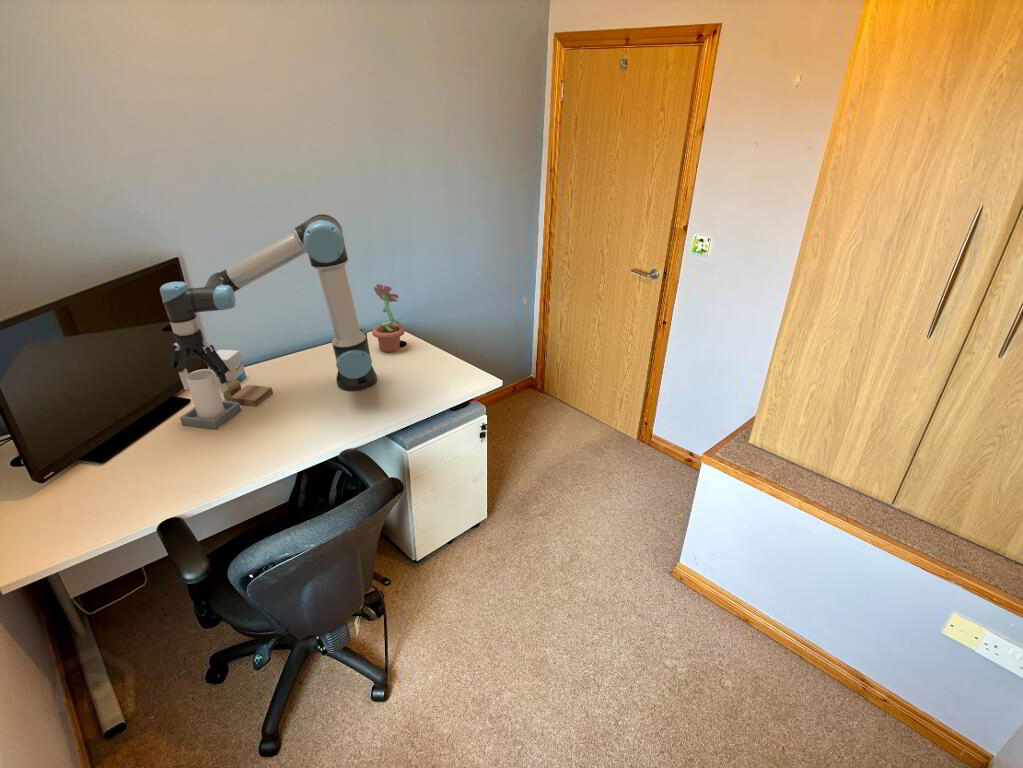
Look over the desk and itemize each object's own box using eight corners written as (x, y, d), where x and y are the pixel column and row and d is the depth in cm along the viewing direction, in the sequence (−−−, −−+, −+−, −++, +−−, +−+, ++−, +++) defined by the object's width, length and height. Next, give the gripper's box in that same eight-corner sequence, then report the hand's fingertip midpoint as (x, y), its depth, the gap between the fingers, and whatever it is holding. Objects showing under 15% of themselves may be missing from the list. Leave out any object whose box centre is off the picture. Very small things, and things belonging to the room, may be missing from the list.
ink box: (246, 376, 213) (240, 350, 207) (235, 387, 206) (227, 359, 200) (226, 375, 214) (219, 348, 208) (213, 385, 206) (206, 358, 201)
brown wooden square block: (273, 394, 202) (271, 387, 200) (256, 407, 193) (255, 400, 192) (249, 391, 203) (247, 384, 202) (232, 404, 195) (230, 397, 193)
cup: (230, 412, 188) (219, 371, 180) (212, 424, 181) (199, 382, 174) (212, 408, 190) (200, 367, 183) (193, 419, 184) (180, 378, 176)
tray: (241, 410, 191) (239, 402, 189) (216, 429, 179) (214, 422, 178) (208, 406, 193) (206, 398, 191) (182, 425, 182) (179, 417, 180)
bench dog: (242, 392, 202) (239, 380, 199) (232, 400, 197) (228, 388, 194) (235, 391, 202) (232, 379, 200) (224, 399, 197) (221, 387, 195)
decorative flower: (414, 346, 241) (409, 281, 227) (396, 358, 230) (389, 290, 216) (386, 340, 246) (379, 276, 232) (367, 351, 235) (359, 285, 221)
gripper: (229, 329, 172) (246, 387, 182) (162, 324, 176) (181, 381, 187) (214, 338, 166) (232, 398, 176) (144, 333, 170) (165, 391, 180)
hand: (206, 389), depth 181 cm, fingers open, 13 cm apart
